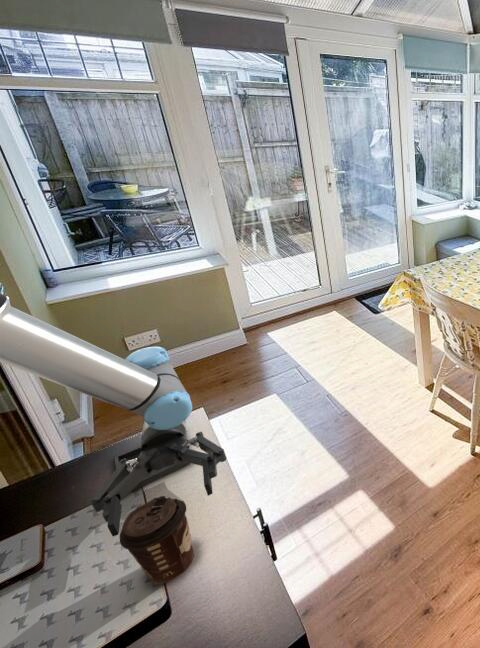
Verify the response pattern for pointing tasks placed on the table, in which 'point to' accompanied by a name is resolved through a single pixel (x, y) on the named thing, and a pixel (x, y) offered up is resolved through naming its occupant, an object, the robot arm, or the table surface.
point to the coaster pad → (154, 475)
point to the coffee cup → (159, 538)
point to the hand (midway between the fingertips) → (163, 509)
